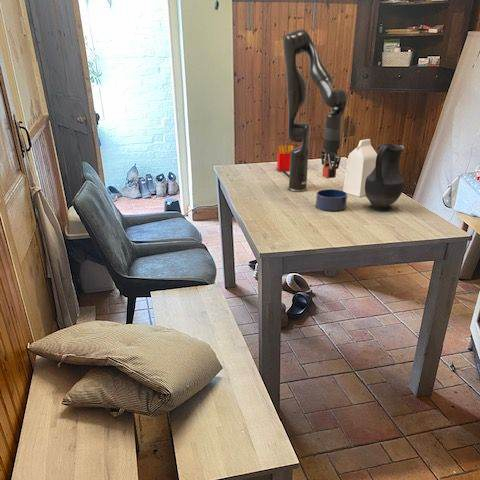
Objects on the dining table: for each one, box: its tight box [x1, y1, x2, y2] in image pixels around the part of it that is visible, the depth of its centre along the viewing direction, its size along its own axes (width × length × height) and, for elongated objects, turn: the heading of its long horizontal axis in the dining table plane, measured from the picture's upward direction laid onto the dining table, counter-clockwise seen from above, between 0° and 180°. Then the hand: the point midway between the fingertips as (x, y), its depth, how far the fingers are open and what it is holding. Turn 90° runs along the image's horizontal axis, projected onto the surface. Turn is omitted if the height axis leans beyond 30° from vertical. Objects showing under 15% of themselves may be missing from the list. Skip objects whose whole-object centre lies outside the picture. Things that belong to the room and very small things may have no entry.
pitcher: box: [365, 143, 405, 212], centre depth 227 cm, size 17×21×30 cm
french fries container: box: [276, 144, 295, 172], centre depth 296 cm, size 7×9×14 cm
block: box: [321, 165, 337, 179], centre depth 230 cm, size 4×4×4 cm
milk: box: [342, 138, 378, 198], centre depth 252 cm, size 12×12×26 cm
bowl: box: [315, 188, 348, 212], centre depth 236 cm, size 14×14×6 cm
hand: (329, 176), depth 231 cm, fingers closed on block, 4 cm apart
